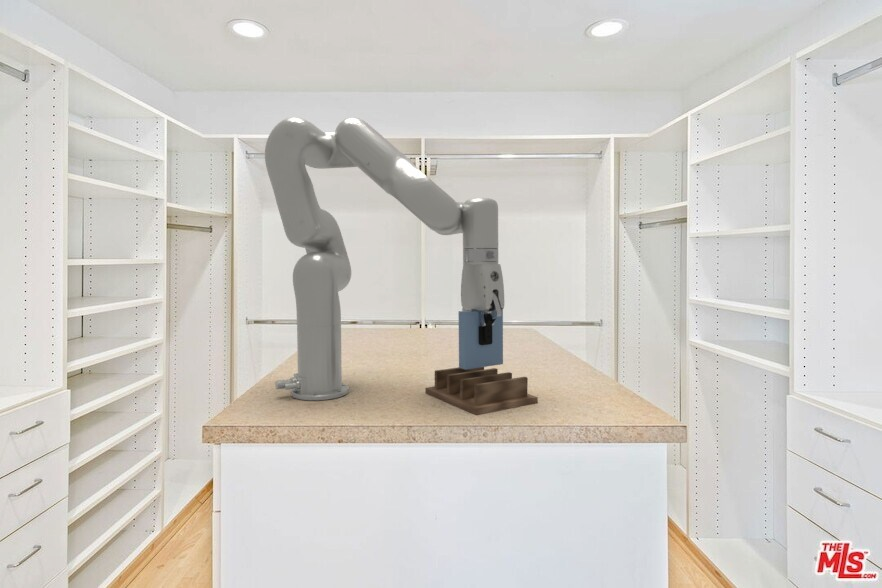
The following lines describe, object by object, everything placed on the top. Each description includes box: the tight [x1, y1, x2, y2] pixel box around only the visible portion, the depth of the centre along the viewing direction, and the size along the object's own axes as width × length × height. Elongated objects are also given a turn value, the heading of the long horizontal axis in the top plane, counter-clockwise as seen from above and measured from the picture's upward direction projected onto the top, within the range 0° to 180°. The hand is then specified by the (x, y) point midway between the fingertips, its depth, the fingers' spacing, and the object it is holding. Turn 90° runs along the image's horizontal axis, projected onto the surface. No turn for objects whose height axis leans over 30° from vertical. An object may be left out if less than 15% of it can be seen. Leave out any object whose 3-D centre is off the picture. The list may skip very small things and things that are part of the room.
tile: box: [458, 309, 504, 370], centre depth 106 cm, size 10×2×12 cm, turn 122°
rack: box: [424, 366, 539, 416], centre depth 106 cm, size 16×19×5 cm
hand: (481, 342), depth 106 cm, fingers closed on tile, 2 cm apart
